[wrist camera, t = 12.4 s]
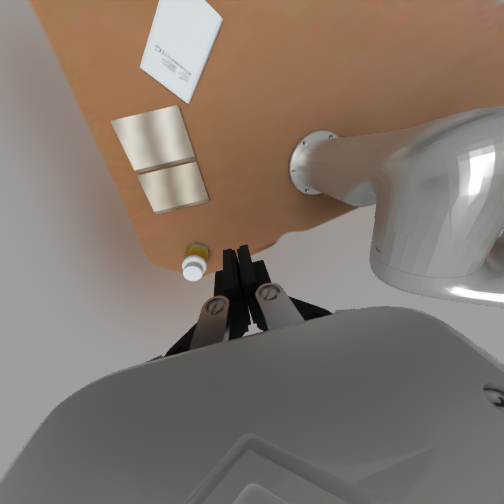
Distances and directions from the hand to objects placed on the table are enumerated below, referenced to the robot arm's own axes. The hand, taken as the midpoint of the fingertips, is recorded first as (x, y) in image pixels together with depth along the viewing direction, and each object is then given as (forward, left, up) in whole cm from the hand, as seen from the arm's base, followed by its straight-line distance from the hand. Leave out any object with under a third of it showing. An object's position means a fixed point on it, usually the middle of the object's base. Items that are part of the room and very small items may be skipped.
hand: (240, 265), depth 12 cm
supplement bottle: (+12, +14, -32) cm, 37 cm away
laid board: (+11, -11, -32) cm, 36 cm away
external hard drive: (+2, -22, -33) cm, 40 cm away
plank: (+11, -2, -32) cm, 34 cm away
